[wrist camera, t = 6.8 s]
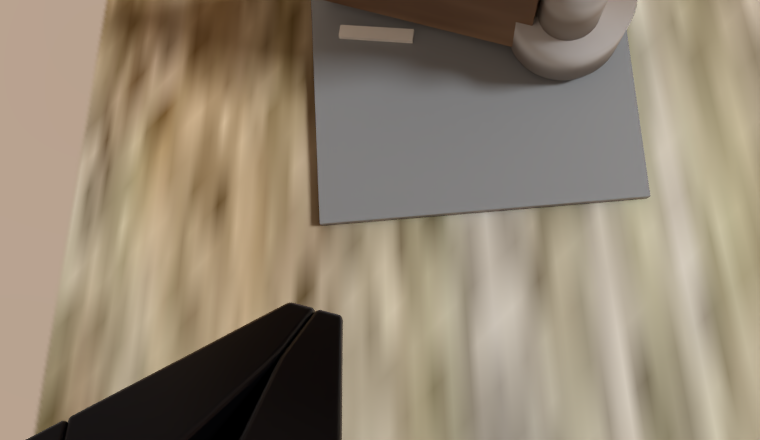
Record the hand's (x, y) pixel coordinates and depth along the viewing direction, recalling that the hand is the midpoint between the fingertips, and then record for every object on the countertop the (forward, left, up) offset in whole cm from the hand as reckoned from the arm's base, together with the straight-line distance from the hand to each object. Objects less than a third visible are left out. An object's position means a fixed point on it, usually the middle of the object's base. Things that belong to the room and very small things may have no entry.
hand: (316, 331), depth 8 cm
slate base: (+11, -3, -12) cm, 16 cm away
